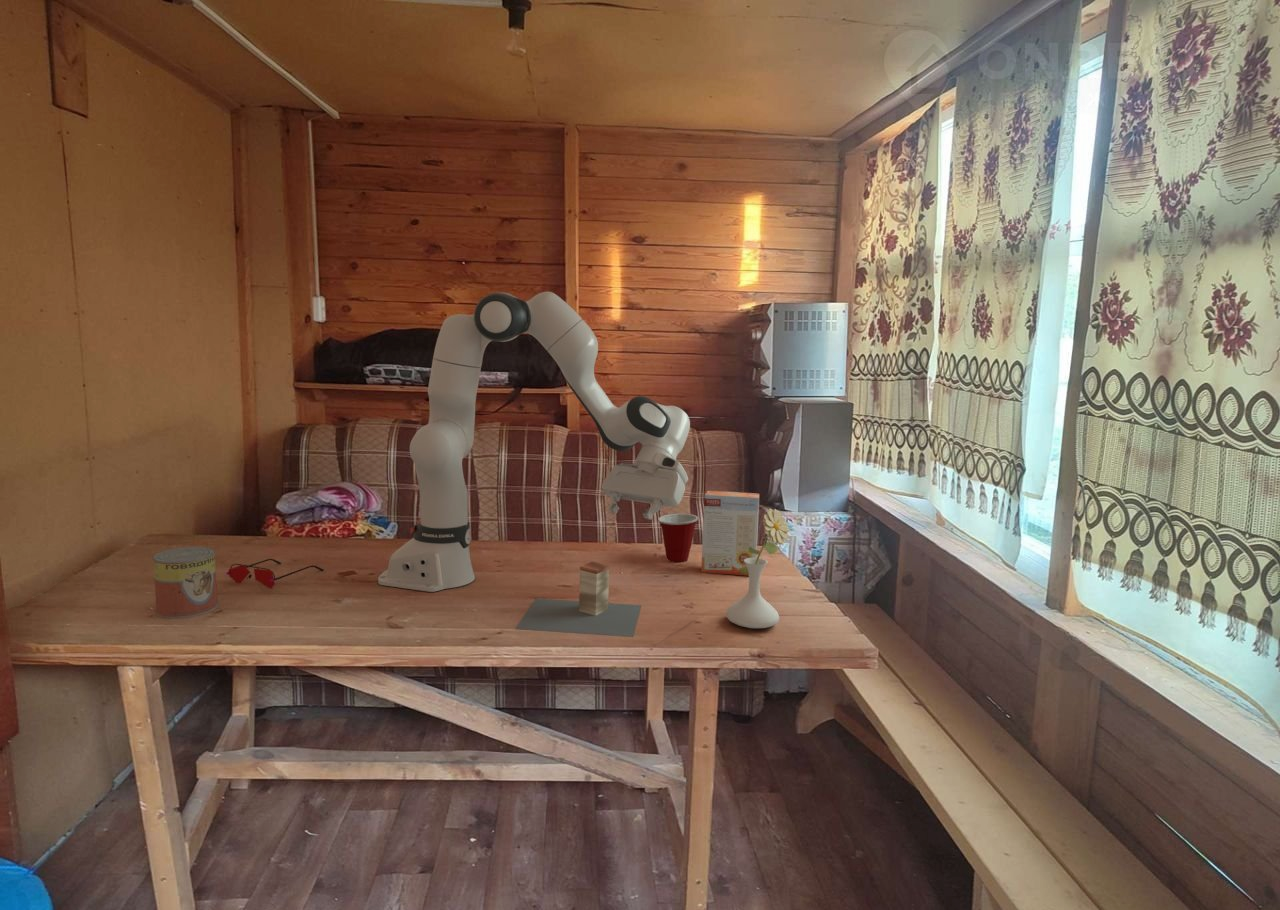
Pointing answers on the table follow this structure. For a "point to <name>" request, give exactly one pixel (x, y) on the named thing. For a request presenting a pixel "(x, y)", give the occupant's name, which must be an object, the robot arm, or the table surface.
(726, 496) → the cracker box
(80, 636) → the table surface
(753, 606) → the flower in vase
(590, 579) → the birch block
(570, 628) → the slate mat
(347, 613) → the table surface
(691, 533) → the plastic cup
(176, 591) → the canned food
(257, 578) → the glasses
